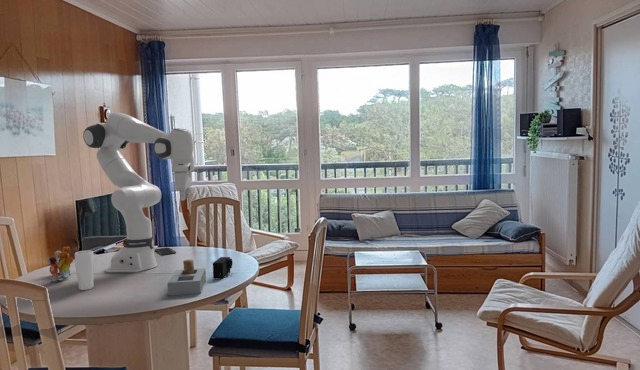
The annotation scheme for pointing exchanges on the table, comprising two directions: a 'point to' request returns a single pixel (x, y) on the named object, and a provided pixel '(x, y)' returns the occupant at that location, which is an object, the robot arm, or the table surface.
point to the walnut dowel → (188, 266)
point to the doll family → (60, 265)
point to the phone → (165, 251)
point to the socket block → (186, 282)
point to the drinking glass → (85, 269)
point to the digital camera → (222, 267)
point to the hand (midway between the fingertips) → (184, 199)
